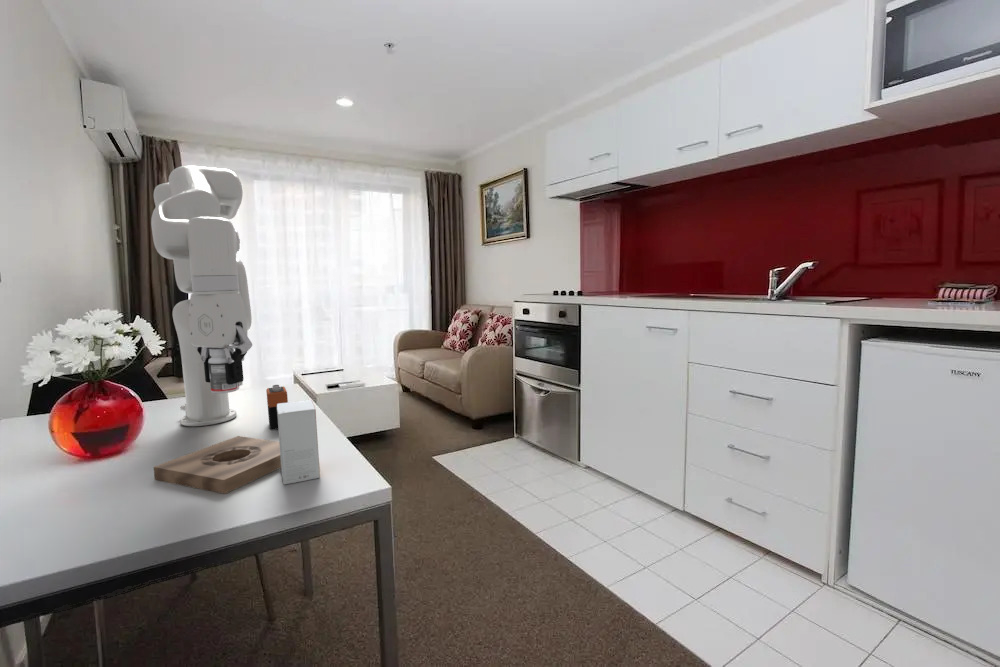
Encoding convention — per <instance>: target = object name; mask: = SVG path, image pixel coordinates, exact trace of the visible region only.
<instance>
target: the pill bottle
mask: <svg viewBox="0 0 1000 667" xmlns="http://www.w3.org/2000/svg"><path fill="white" fill-rule="evenodd" d="M231 350H232V354H233V353H234V351H235V349H231ZM209 352H210V356H211V358H210V359H209V360H208V365H209V375H210V385H211V392H212V393H218V394H221V393H228V394H229V393H233V392H236V391H238V390H239V389H240V382H239V383H235V384H227V381H226V370H225V363H228V362H227V358H226V355H225V351H224V348H210V349H209Z"/></svg>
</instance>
